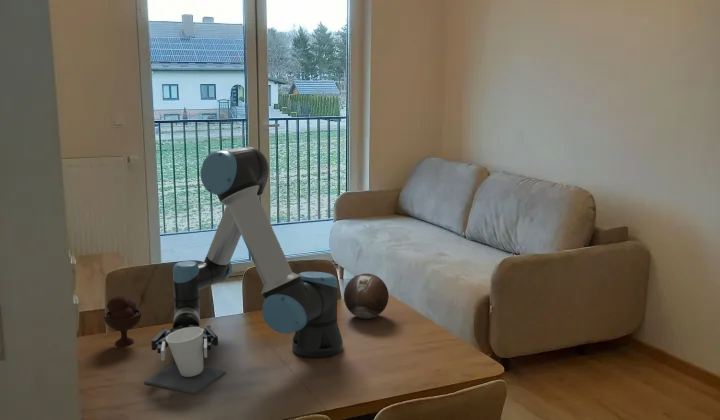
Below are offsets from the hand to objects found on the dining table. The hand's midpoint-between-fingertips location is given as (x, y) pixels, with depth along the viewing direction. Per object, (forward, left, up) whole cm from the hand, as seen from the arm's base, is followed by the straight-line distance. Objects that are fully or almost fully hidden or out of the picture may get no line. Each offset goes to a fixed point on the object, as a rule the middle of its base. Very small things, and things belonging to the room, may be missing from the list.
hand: (184, 354), depth 180 cm
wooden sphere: (-24, -67, -9) cm, 72 cm away
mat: (+2, -3, -9) cm, 10 cm away
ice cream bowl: (+34, -16, -9) cm, 39 cm away
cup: (+1, -5, -7) cm, 9 cm away
